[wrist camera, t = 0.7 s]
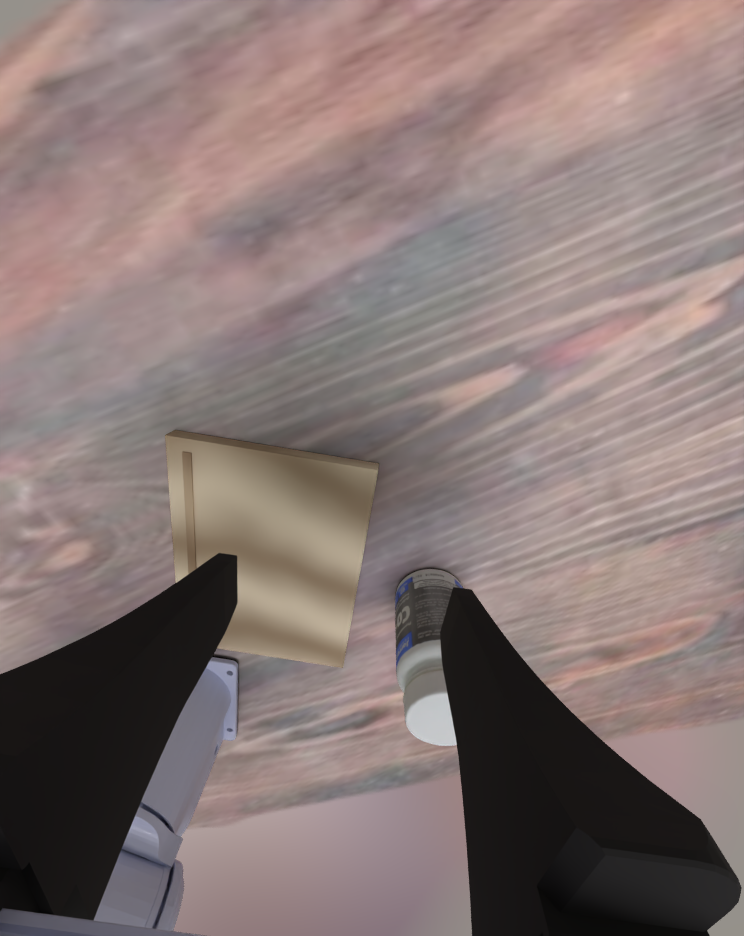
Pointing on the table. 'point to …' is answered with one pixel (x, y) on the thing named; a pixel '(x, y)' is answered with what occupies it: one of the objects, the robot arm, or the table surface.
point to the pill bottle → (424, 654)
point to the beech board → (274, 538)
